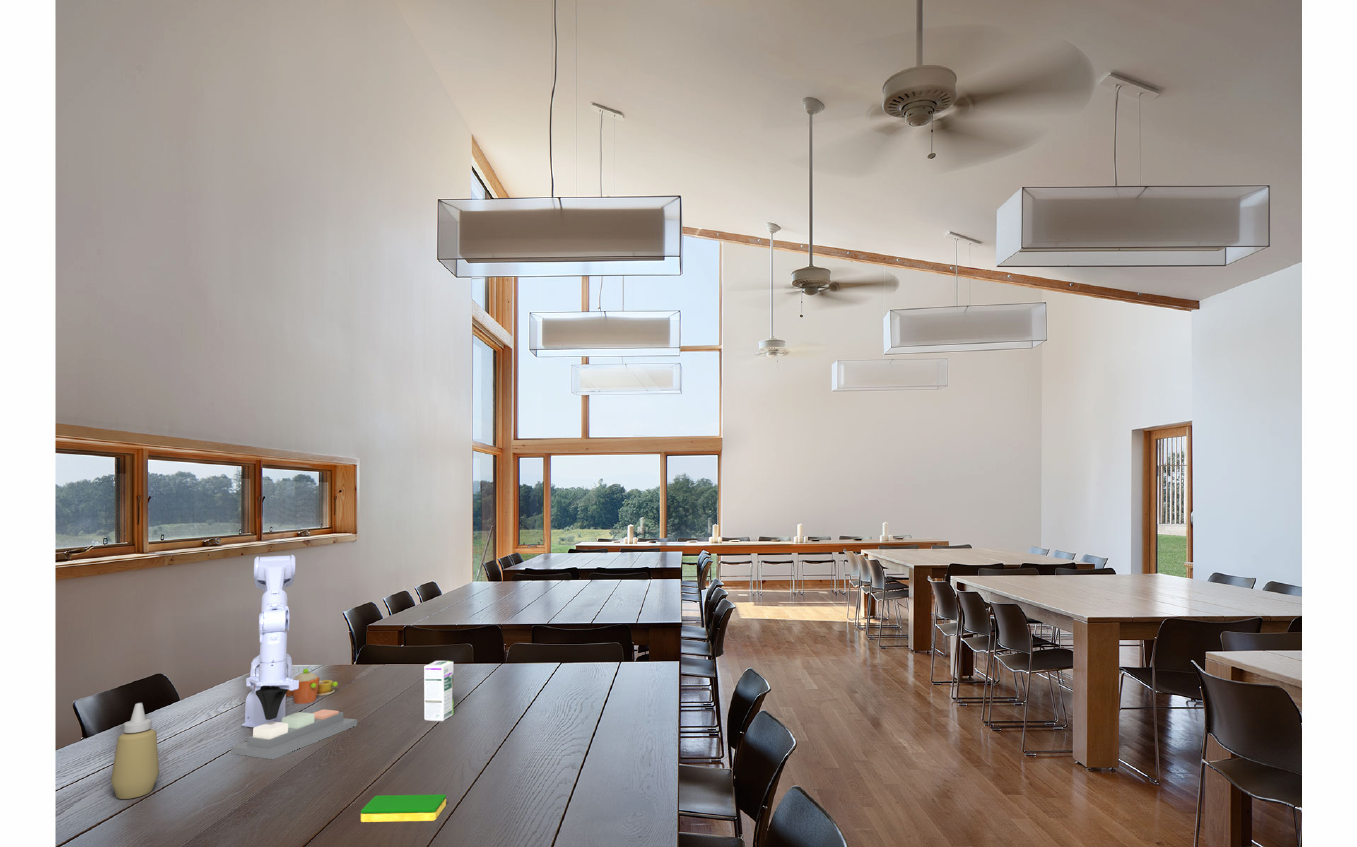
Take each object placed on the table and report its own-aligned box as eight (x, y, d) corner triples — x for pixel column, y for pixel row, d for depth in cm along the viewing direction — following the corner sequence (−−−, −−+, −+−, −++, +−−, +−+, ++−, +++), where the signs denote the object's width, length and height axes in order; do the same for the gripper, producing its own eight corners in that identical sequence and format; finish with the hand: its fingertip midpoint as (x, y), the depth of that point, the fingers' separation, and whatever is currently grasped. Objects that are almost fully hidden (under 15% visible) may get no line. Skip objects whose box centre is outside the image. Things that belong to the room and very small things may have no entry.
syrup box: (443, 721, 198) (444, 665, 200) (423, 720, 200) (423, 664, 201) (454, 715, 204) (454, 660, 205) (434, 714, 205) (434, 659, 206)
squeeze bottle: (126, 787, 156) (130, 698, 158) (167, 785, 157) (171, 697, 159) (99, 803, 148) (104, 709, 150) (143, 801, 149) (147, 708, 151)
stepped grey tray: (231, 753, 176) (231, 737, 176) (318, 720, 201) (318, 707, 201) (273, 759, 172) (273, 743, 172) (357, 725, 196) (357, 711, 196)
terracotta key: (307, 724, 192) (307, 714, 192) (322, 718, 197) (323, 709, 197) (322, 726, 190) (323, 716, 191) (338, 720, 195) (338, 710, 196)
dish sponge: (434, 822, 138) (435, 809, 139) (359, 824, 138) (360, 810, 139) (446, 806, 146) (446, 793, 146) (375, 807, 145) (375, 794, 146)
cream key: (252, 738, 177) (253, 727, 178) (271, 731, 182) (271, 721, 182) (269, 740, 176) (269, 729, 176) (287, 733, 180) (288, 723, 181)
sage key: (281, 728, 185) (281, 717, 185) (298, 722, 190) (298, 711, 190) (297, 730, 183) (297, 719, 183) (314, 723, 188) (314, 713, 188)
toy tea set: (341, 690, 232) (342, 659, 233) (319, 705, 217) (320, 671, 218) (256, 692, 232) (257, 660, 232) (227, 707, 216) (229, 672, 217)
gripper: (235, 662, 179) (233, 720, 178) (282, 665, 174) (280, 726, 173) (261, 655, 186) (259, 712, 185) (306, 659, 181) (304, 717, 180)
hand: (271, 718), depth 179 cm, fingers closed
